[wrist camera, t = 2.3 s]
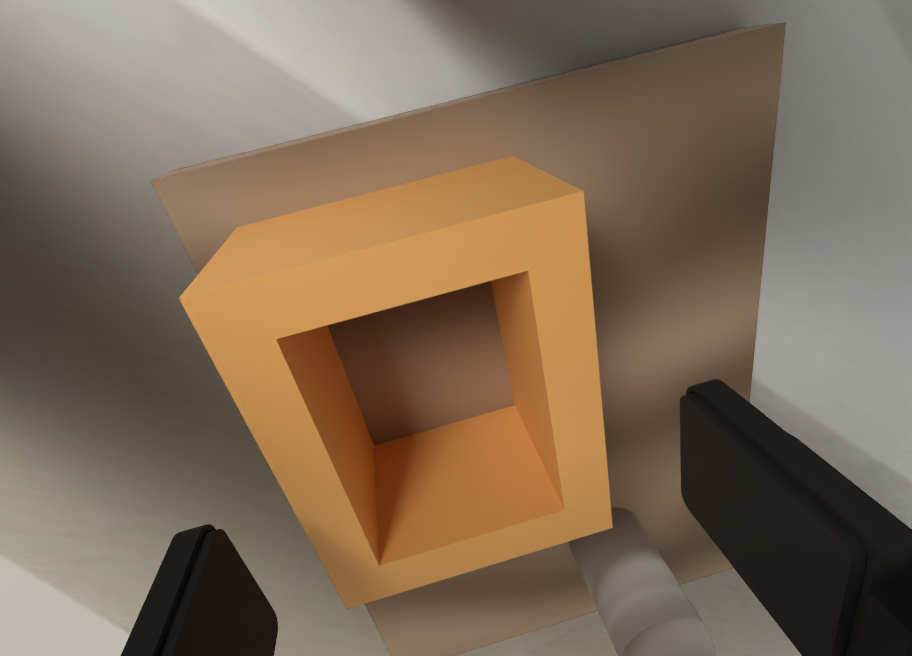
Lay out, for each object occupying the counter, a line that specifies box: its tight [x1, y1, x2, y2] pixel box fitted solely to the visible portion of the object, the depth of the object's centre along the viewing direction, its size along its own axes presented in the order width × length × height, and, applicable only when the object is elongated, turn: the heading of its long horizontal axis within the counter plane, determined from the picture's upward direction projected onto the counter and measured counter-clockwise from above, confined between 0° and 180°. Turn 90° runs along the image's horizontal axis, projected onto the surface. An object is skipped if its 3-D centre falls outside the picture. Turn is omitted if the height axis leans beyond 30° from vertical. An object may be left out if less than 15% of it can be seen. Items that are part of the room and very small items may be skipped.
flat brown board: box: [151, 22, 786, 656], centre depth 15 cm, size 22×16×8 cm
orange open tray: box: [179, 156, 613, 609], centre depth 13 cm, size 9×7×4 cm
